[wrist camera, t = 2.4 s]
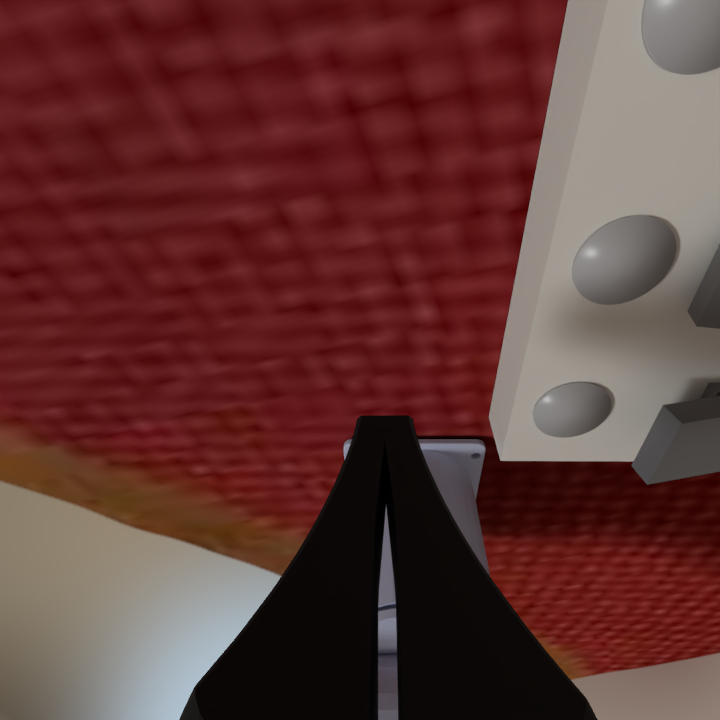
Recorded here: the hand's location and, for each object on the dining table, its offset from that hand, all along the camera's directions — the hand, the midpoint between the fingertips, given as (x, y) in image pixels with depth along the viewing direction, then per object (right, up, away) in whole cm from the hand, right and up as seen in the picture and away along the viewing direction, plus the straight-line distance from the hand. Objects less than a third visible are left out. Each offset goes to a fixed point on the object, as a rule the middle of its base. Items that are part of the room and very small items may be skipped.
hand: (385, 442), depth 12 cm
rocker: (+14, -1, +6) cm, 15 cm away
